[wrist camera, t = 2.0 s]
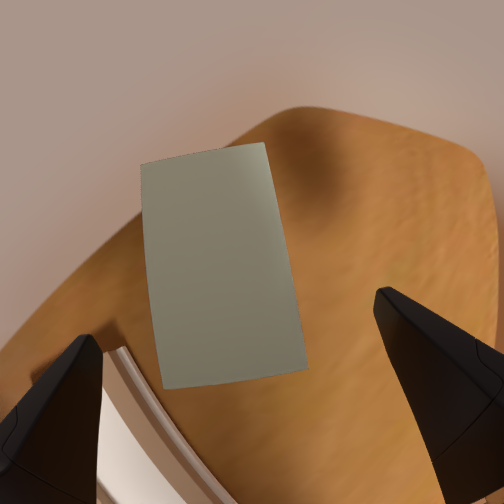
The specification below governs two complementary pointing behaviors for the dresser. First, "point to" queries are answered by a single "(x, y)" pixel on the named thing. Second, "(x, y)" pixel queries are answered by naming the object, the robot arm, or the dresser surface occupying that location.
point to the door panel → (218, 269)
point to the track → (145, 446)
